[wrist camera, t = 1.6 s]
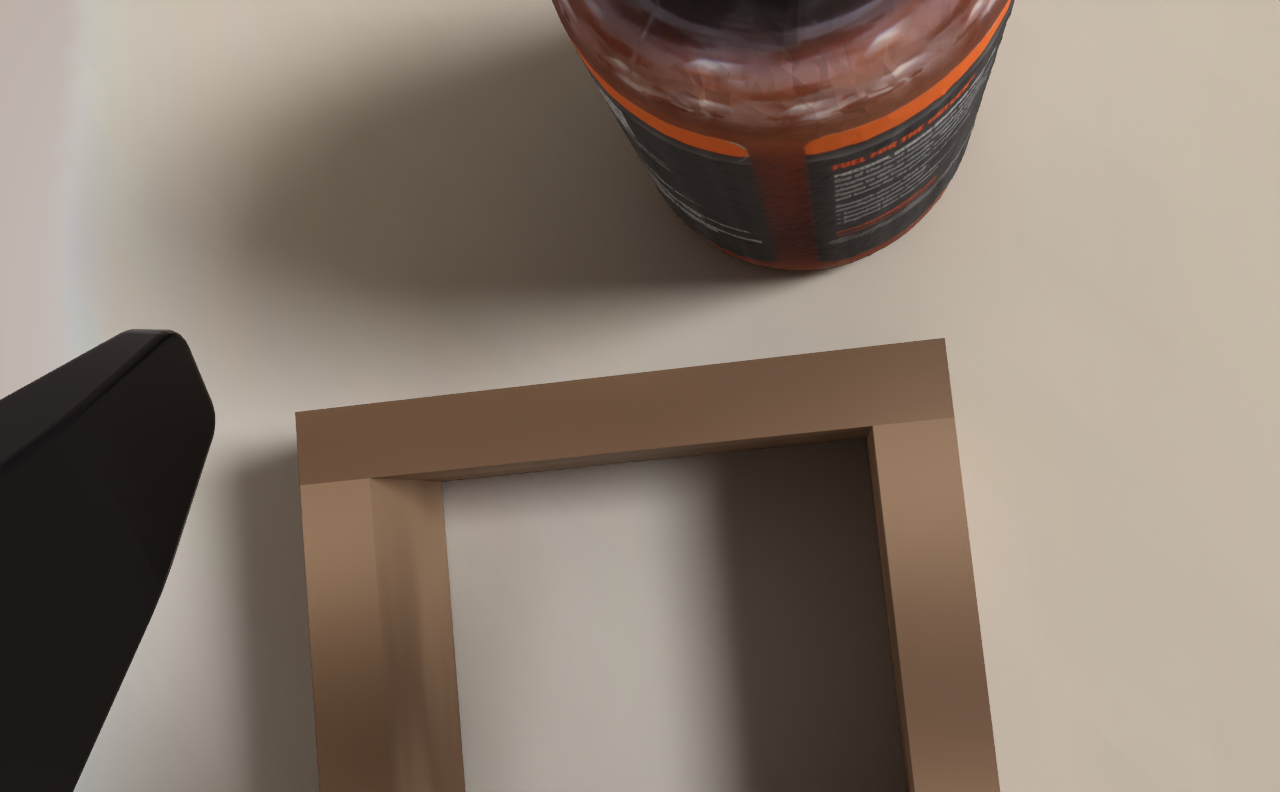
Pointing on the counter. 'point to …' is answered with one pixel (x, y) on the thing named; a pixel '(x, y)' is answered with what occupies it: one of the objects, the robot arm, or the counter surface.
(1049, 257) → the counter surface
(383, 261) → the counter surface
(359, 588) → the socket collar
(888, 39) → the supplement bottle
